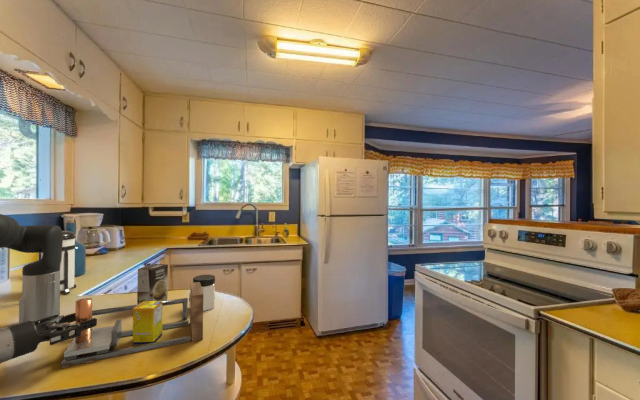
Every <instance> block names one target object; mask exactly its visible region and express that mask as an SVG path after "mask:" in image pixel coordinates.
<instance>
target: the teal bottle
mask: <svg viewBox="0 0 640 400" xmlns="http://www.w3.org/2000/svg"><path fill="white" fill-rule="evenodd" d="M76 228H77V227H76V222H74V219H68V220H67V222H66V223H65V227H64V229H65V231H70V232H73V233H74V235H75V236H76ZM86 256H87V248H86V246H85V244H84V243H82V242H81V241H77V240H76V238H75V277H76V278H77V277H80V276H82V275H84V274H86V271H87V270H86V267H87V266H86V263H87V261H86V260H87V257H86Z"/></svg>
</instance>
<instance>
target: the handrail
mask: <svg viewBox="0 0 640 400" xmlns="http://www.w3.org/2000/svg"><path fill="white" fill-rule="evenodd" d="M188 302H189V297H184V298H175V299H167V301H162V307H164V306H171V305H172V306H173V305H179V304H182V318H181V319H182V321H188V309H189V308H188V307H189V306H188ZM138 305H139V304H137V303H136V304H132V305H124V306H116V307H109V308H102V309H92V317H93V316H100V315H101V316H102V315H108V314H116V313H124V312H130V311H133V308H135V307H136V306H138Z"/></svg>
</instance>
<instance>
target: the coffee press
mask: <svg viewBox="0 0 640 400" xmlns="http://www.w3.org/2000/svg"><path fill="white" fill-rule="evenodd" d="M58 226H59V227H60V228H61V226H60V225H58ZM62 233H63V244H62V259H61V264H60V293H61V292H62V293H63V295H64V296H66V295H69V294H70V291H71V290H70V289H76V287H77V285H76V283H75V279H76V278H75V239H76V238H77V236H76V234H75V235H74V233H73V232H70V231H66V230H62ZM42 256H43V252H42V253H37V261H38V260H40V259H42Z"/></svg>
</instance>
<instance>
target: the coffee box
mask: <svg viewBox="0 0 640 400" xmlns="http://www.w3.org/2000/svg"><path fill="white" fill-rule="evenodd" d="M168 269H169V264H165V263H153V264H149V265H146V266H143V267H139V268H137V291H136V292H137V294H136V297H137V298H136V305H137V304H141V303H142V302H143V301H167V300H168V293H169V292H168V283H169V282H168V281H169V279H168V278H169V272H168V271H169V270H168Z"/></svg>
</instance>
